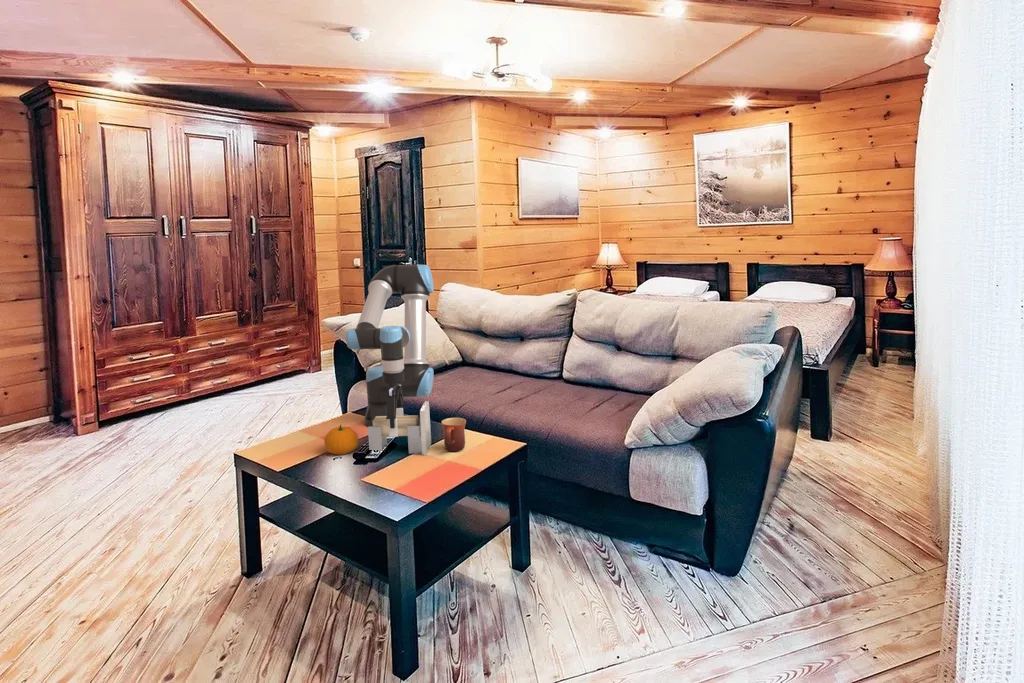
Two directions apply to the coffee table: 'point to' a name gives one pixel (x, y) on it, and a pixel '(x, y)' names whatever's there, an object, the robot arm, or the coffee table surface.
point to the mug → (454, 434)
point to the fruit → (341, 440)
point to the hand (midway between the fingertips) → (396, 430)
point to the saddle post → (376, 438)
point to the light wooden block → (401, 424)
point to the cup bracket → (420, 432)
